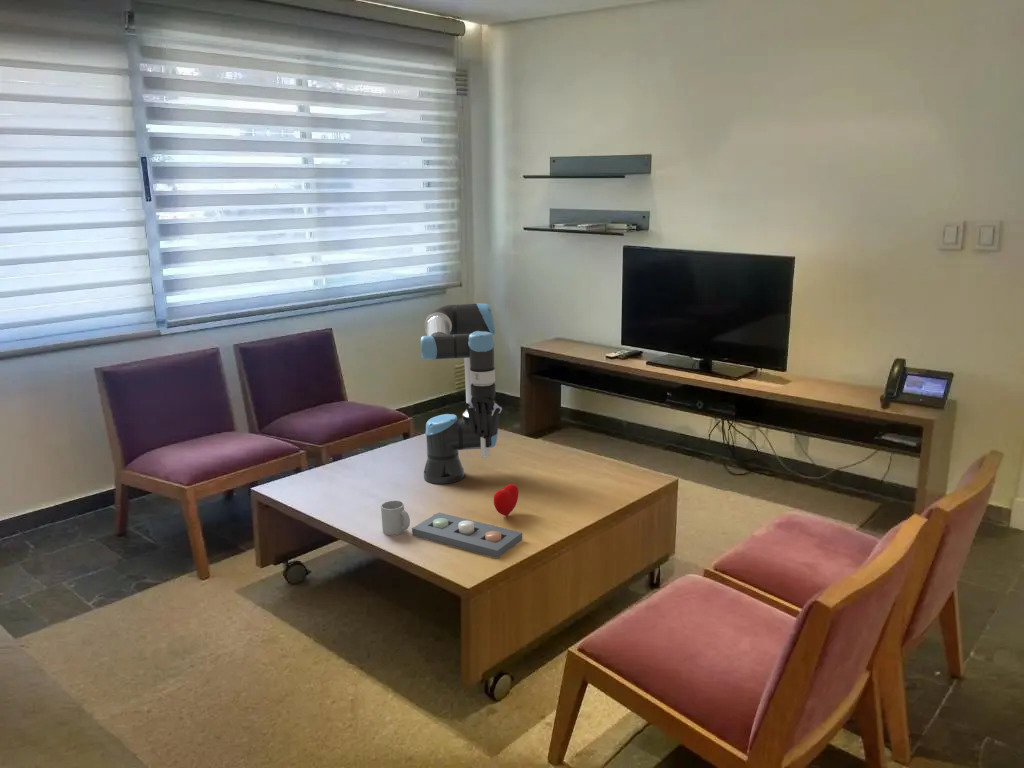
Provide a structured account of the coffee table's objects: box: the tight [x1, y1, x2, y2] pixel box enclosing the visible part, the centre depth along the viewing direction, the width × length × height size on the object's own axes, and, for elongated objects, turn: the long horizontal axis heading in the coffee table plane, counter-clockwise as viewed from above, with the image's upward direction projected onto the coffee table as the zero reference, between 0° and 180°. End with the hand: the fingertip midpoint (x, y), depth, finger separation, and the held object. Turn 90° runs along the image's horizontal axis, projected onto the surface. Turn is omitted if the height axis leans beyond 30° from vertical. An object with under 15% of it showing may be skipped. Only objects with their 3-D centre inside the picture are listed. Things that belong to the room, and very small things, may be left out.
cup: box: [380, 500, 411, 536], centre depth 252 cm, size 7×10×9 cm
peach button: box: [485, 531, 501, 543], centre depth 242 cm, size 5×5×3 cm
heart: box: [493, 483, 520, 517], centre depth 261 cm, size 12×5×10 cm, turn 148°
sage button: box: [433, 518, 448, 529], centre depth 252 cm, size 5×5×3 cm
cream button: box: [458, 519, 474, 536], centre depth 246 cm, size 5×5×3 cm
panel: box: [411, 512, 523, 559], centre depth 247 cm, size 32×14×2 cm, turn 58°
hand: (485, 456), depth 247 cm, fingers closed
